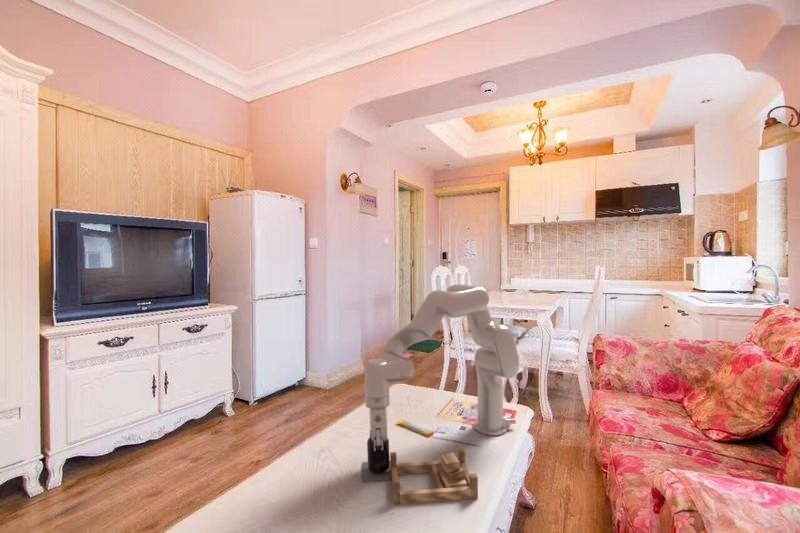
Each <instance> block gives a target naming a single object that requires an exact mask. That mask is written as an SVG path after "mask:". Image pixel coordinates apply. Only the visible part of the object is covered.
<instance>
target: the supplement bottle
mask: <svg viewBox="0 0 800 533" xmlns="http://www.w3.org/2000/svg"><path fill="white" fill-rule="evenodd" d="M380 439H382V437H380ZM375 440H376V437H375ZM389 440H390V439H389V438H388V437H387V440H386V441H385V440H383V449H384V463H376V464H374V461H373V450H374V441H372V438H371V430H370V429H369V437H368V439H367V441H366V446H367V448H366V449H367V450H366V451H367V454H366V455H367V462H368V469H369V470H370V471H371V472H374V473H382V472H385V471H386V470H388V468H389V466H390V441H389ZM376 445H377V444H376Z"/></svg>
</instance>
